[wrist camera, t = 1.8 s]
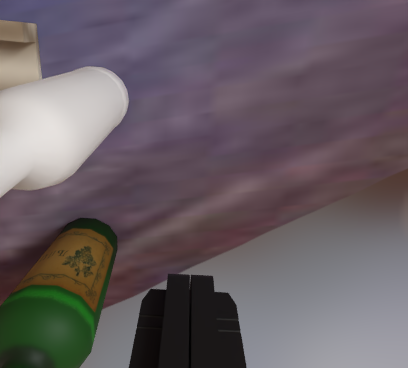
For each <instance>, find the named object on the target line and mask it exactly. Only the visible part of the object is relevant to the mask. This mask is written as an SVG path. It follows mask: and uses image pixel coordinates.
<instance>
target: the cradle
mask: <svg viewBox="0 0 408 368" xmlns="http://www.w3.org/2000/svg"><path fill="white" fill-rule="evenodd" d="M41 79H42V74H41V65H40V55H39V45H38V35H37V25H36V24H33V23H23V22H14V21H4V20H0V90H4V89H7V88H11V87H14V86H18V85H22V84H26V83H30V82H33V81H37V80H41Z"/></svg>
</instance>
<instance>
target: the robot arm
mask: <svg viewBox="0 0 408 368" xmlns="http://www.w3.org/2000/svg"><path fill="white" fill-rule="evenodd" d="M129 368H246V362H245V356H244V349H243V343H242V337H241V333H240V326H239V321H238V313H237V307H236V304H235V302H234V301H233V299H232V298H231V296H230V295H229V294H228V293H222V292H214V281H213V276H203V275H191V282H190V275H183V274H168V280H167V289H166V290H160V289H150V291H149V292H148V293H147V295H146V296H145V297H144V298H143V300H142V303H141V308H140V313H139V319H138V324H137V329H136V334H135V339H134V344H133V349H132V355H131V360H130V364H129Z"/></svg>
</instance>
